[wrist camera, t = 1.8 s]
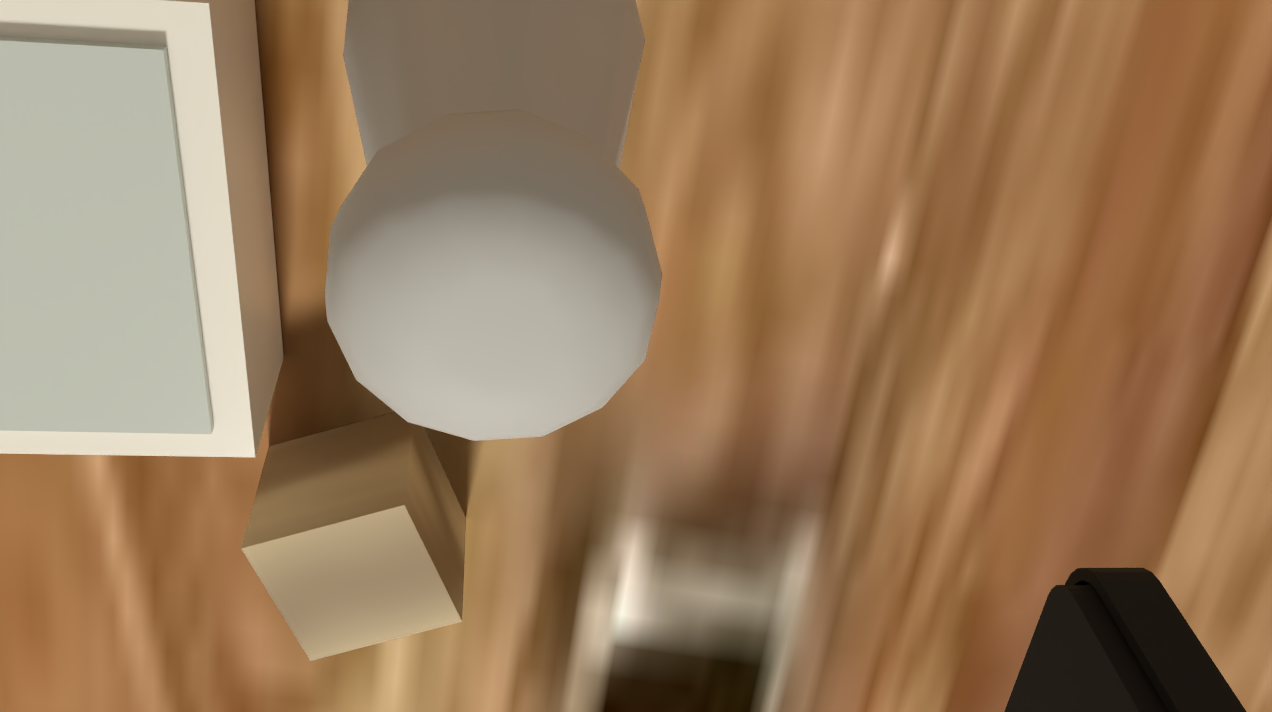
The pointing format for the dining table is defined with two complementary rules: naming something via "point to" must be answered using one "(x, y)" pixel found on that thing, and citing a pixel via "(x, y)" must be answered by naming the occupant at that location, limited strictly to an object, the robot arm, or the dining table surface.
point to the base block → (134, 230)
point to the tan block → (358, 536)
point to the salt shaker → (493, 213)
